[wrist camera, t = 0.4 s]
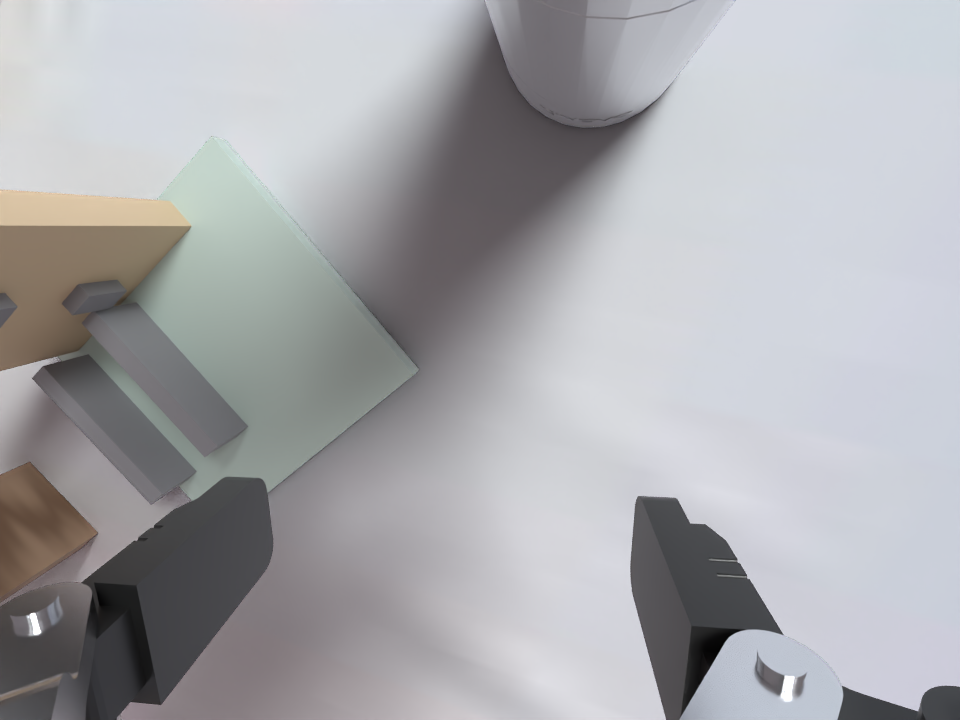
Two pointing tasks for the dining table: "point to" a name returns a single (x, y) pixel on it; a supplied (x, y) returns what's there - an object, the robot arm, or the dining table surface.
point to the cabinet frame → (189, 327)
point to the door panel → (35, 528)
